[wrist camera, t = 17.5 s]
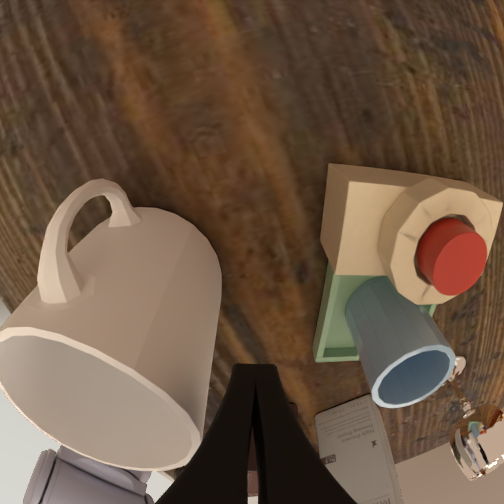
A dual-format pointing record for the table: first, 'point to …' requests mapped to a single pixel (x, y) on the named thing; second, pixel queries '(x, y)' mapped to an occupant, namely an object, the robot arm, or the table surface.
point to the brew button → (451, 256)
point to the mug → (117, 335)
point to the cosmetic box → (358, 451)
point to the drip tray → (338, 318)
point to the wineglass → (476, 433)
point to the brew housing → (396, 222)
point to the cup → (396, 344)
